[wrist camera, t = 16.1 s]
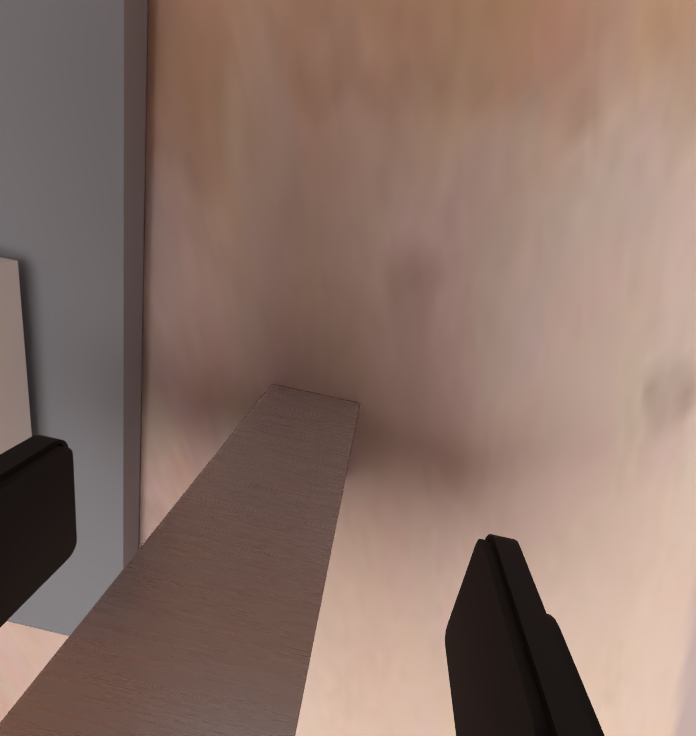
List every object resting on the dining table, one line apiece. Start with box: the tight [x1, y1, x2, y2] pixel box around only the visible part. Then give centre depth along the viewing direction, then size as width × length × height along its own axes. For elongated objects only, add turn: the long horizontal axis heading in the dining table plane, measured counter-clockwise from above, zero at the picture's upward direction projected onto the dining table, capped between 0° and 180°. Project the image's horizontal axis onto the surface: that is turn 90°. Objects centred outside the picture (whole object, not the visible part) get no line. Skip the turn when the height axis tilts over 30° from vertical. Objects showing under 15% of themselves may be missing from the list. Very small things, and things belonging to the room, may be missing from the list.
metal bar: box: [0, 384, 360, 736], centre depth 9 cm, size 3×3×12 cm
